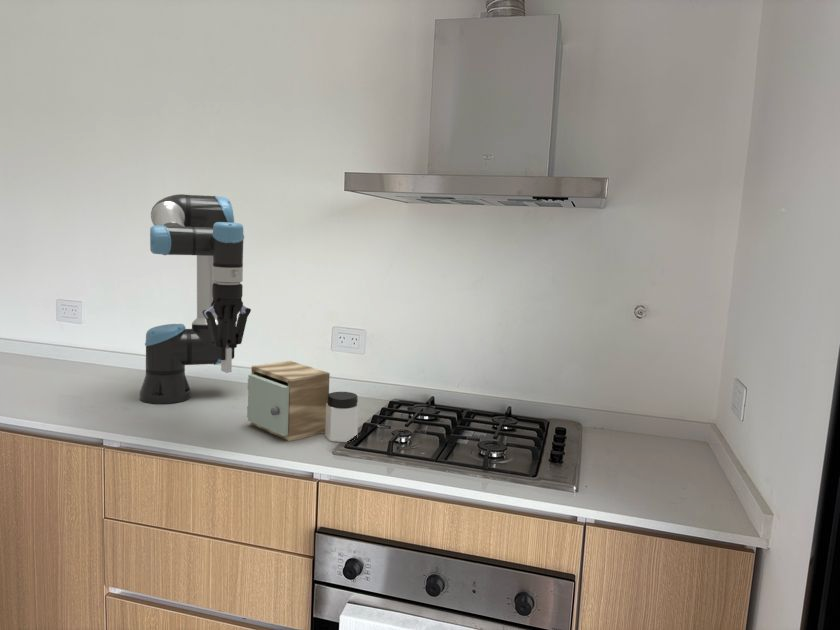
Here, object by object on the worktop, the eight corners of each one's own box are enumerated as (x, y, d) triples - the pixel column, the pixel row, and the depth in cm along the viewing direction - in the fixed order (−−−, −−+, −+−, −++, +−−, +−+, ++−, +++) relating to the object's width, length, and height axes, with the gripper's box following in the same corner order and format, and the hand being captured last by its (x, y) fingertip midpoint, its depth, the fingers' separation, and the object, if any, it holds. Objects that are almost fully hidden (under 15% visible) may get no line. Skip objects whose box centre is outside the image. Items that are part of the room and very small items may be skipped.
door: (240, 420, 188) (241, 374, 187) (250, 418, 191) (251, 373, 189) (278, 437, 176) (279, 388, 174) (287, 434, 178) (289, 386, 176)
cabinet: (250, 423, 191) (251, 365, 189) (288, 415, 201) (289, 360, 198) (289, 441, 178) (290, 379, 176) (327, 431, 188) (329, 373, 185)
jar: (361, 441, 181) (362, 398, 180) (332, 444, 178) (333, 400, 176) (349, 431, 189) (351, 390, 188) (322, 434, 186) (323, 392, 184)
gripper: (211, 285, 165) (210, 378, 169) (257, 283, 174) (255, 371, 178) (196, 281, 170) (196, 371, 174) (242, 280, 179) (240, 365, 183)
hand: (226, 371), depth 176 cm, fingers closed
